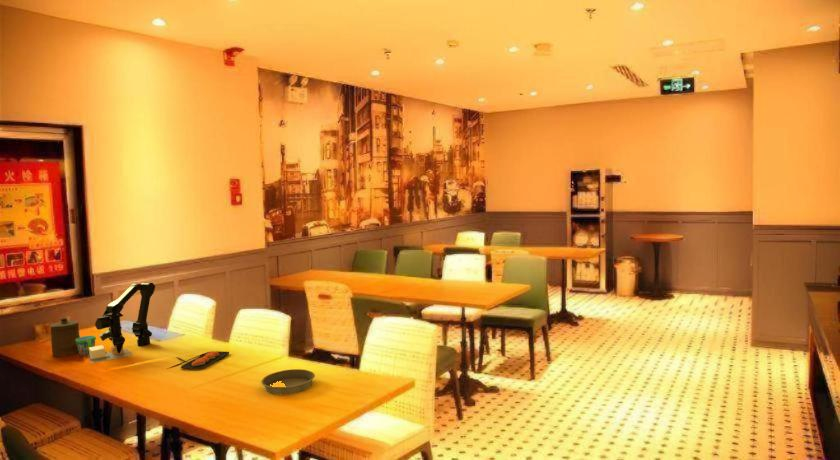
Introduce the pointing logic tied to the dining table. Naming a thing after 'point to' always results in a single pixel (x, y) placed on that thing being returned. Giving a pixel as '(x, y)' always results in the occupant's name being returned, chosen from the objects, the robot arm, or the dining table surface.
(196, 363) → the sushi plate
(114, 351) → the orange hollow square block
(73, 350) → the dark grey canister
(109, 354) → the base plate
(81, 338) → the snack cup
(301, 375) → the cake pan
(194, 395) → the dining table surface
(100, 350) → the cover
